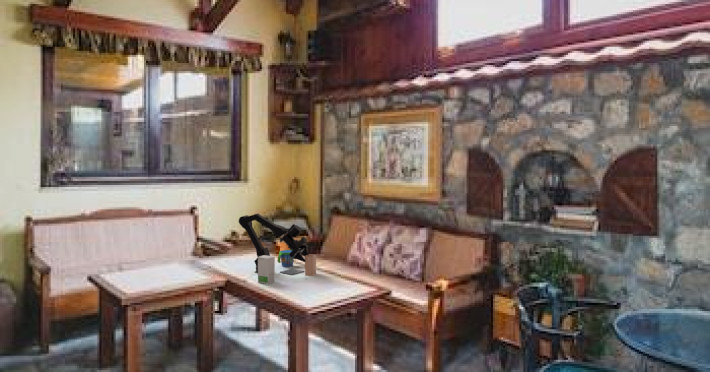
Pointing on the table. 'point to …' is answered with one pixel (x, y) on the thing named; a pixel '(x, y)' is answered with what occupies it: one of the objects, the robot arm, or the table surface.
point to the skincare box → (266, 269)
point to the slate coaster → (292, 271)
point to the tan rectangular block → (310, 265)
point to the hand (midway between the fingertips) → (307, 260)
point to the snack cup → (285, 258)
